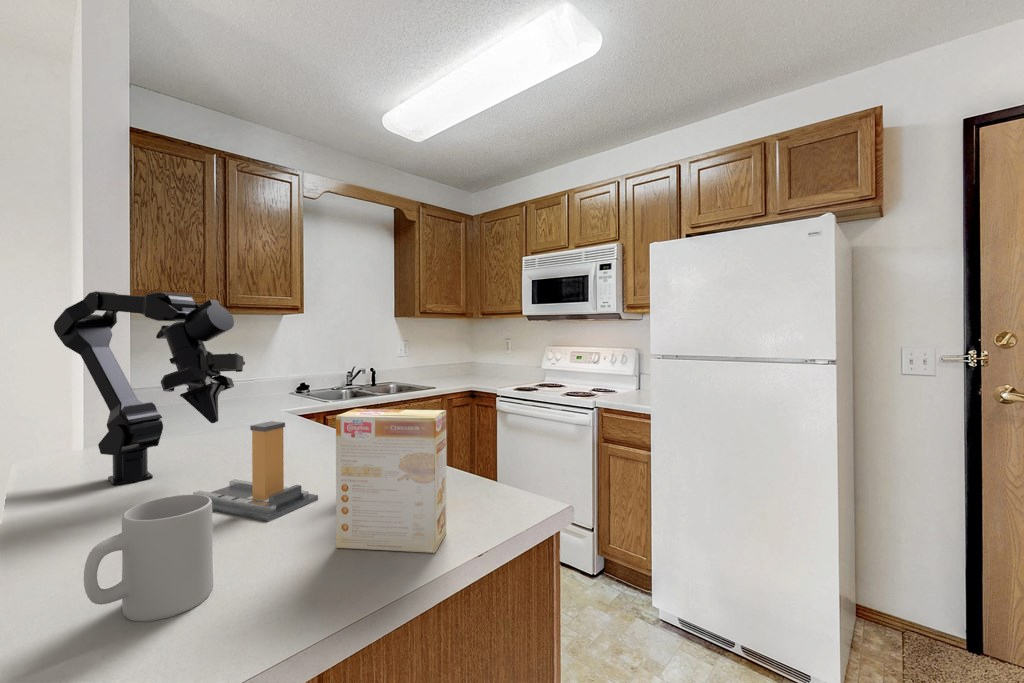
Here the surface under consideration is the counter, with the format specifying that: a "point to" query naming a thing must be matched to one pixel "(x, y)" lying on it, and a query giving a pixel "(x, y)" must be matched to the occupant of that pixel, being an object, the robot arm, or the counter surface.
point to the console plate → (238, 504)
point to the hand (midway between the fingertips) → (214, 422)
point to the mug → (158, 558)
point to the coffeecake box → (391, 479)
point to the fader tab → (267, 460)
